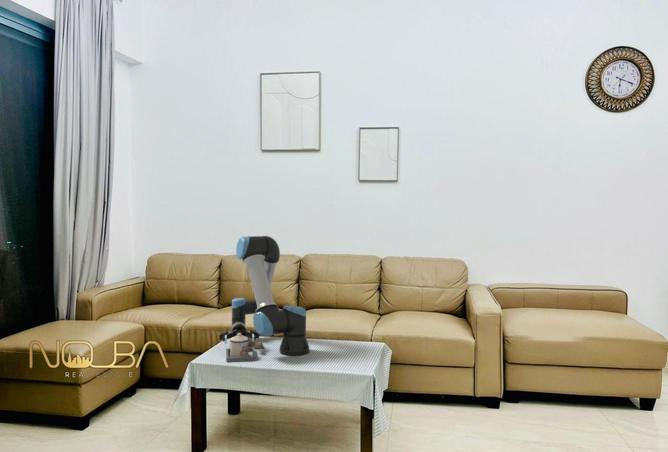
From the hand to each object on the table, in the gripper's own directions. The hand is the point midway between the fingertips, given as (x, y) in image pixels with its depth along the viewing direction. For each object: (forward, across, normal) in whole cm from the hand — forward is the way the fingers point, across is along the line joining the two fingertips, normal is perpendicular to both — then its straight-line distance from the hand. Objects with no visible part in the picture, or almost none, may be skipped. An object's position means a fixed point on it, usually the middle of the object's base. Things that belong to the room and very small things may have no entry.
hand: (239, 340), depth 250 cm
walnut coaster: (-15, -6, -7) cm, 18 cm away
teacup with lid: (+3, 0, -7) cm, 8 cm away
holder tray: (+3, 0, -7) cm, 8 cm away
